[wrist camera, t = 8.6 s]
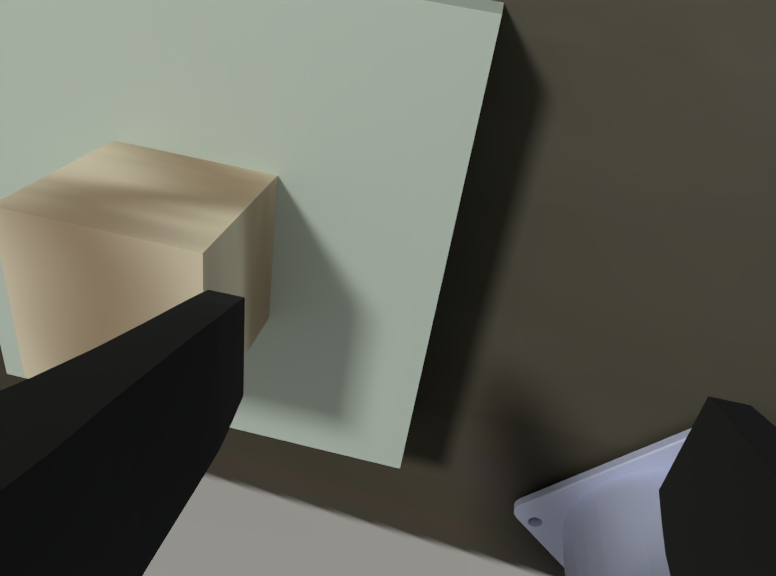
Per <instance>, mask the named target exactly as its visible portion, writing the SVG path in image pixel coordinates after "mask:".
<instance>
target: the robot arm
mask: <svg viewBox="0 0 776 576" xmlns="http://www.w3.org/2000/svg"><path fill="white" fill-rule="evenodd" d="M244 323H245V297H240V296H236V295H231V294H226V293H222V292H217V291H212V290H207V291H205V292H202V293H200V294H198V295H196V296H194V297H192V298H190V299H188V300H186V301H184V302H182V303H180V304H178V305H177V306H175V307H173V308H171V309H169V310H167V311H165V312H163V313H161V314H160V315H158V316H156V317H154V318H152V319H150V320H148V321H146V322H145V323H143V324H141V325H139V326H137V327H135V328H133V329H131V330H129V331H127V332H125V333H123V334H121V335H119V336H117V337H115V338H114V339H112V340H110V341H108V342H106V343H104V344H102V345H100V346H98V347H96V348H94V349H92V350H90V351H87V352H85V353H83V354H81V355H79V356H77V357H74V358H72V359H70V360H68V361H66V362H64V363H62V364H59V365H57V366H55V367H53V368H51V369H49V370H46V371H44V372H42V373H40V374H38V375H36V376H34V377H31V378H29V379H27V380H25V381H22V382H20V383H18V384H15V385H13V386H11V387H8V388H6V389H3V390H1V391H0V576H142V575H143V574H144V572H145V570H146V568H147V567H148V565H149V563H150V562H151V560H152V559H153V557H154V555H155V554H156V552H157V550H158V549H159V547H160V546H161V544H162V542H163V541H164V539H165V538H166V536H167V534H168V533H169V531H170V530H171V528H172V526H173V525H174V523H175V521H176V520H177V518H178V517H179V515H180V513H181V512H182V510H183V508H184V507H185V505H186V503H187V502H188V500H189V498H190V497H191V496H192V494H193V492H194V491H195V489H196V487H197V486H198V484H199V482H200V481H201V479H202V477H203V476H204V474H205V473H206V471H207V469H208V468H209V466H210V464H211V463H212V461H213V459H214V458H215V456H216V454H217V453H218V451H219V449H220V447H221V445H222V443H223V441H224V438H225V436H226V434H227V432H228V430H229V428H230V426H231V423H232V421H233V419H234V416H235V414H236V412H237V409H238V407H239V405H240V403H241V400H242V398H243V390H244ZM514 515H515V517H516V518H517V519H518V520H519V521H520V522H521V523H522V524H523V525H524V526H525V527H526V528H527V529H528V530H529V532H530V533H531V534H532V535H533V536H534V537H535V538H536V539H537V540H538V541H539V542H540V543H541V544H542V545H543V546H544V547H545V548H546V549H547V550H548V551H549V553H550V554H551V555H552V556H553V557H554V558H555V559H556V560H557V561H558V562H559V563H560V564H561V565H562V566H563V567H564V569H565V576H776V427H775V426H774V425H772V424H771V423H770V422H769V421H768V420H767V419H766V418H765V417H764V416H762V415H761V414H760V413H759V412H758V411H757V410H755V409H754V408H753V407H752V406H750V405H746V404H741V403H736V402H732V401H727V400H722V399H718V398H713V397H708V398H707V400H706V402H705V404H704V406H703V407H702V409H701V411H700V413H699V415H698V417H697V419H696V421H695V423H694V425H693V426H692V428H690V429H688V430H686V431H683V432H681V433H678V434H676V435H673V436H671V437H668V438H666V439H664V440H661V441H659V442H656V443H654V444H651V445H649V446H647V447H644V448H642V449H639V450H637V451H634V452H632V453H629V454H627V455H625V456H622V457H620V458H617V459H615V460H612V461H610V462H607V463H605V464H603V465H600V466H598V467H595V468H593V469H590V470H588V471H586V472H583V473H581V474H578V475H576V476H573V477H571V478H568V479H566V480H564V481H561V482H559V483H556V484H554V485H551V486H549V487H546V488H544V489H542V490H539V491H537V492H534V493H532V494H529V495H527V496H525V497H522V498H520V499H518V500H516V501H515V503H514ZM533 517H536V519H535V518H533Z"/></svg>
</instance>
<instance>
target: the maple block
mask: <svg viewBox="0 0 776 576" xmlns="http://www.w3.org/2000/svg"><path fill="white" fill-rule="evenodd" d="M277 179H278V175H274V174H269V173H264V172H260V171H255V170H250V169H245V168H241V167H236V166H231V165H227V164H222V163H217V162H213V161H208V160H203V159H199V158H194V157H189V156H185V155H180V154H175V153H170V152H166V151H161V150H156V149H152V148H147V147H142V146H138V145H133V144H128V143H124V142H119V141H114V140H113V141H111V142H109V143H108V144H106V145H104V146H102V147H100V148H98V149H96V150H94V151H92V152H90V153H89V154H87V155H85V156H83V157H81V158H79V159H77V160H75V161H73V162H71V163H69V164H68V165H66V166H64V167H62V168H60V169H58V170H56V171H54V172H52V173H50V174H49V175H47V176H45V177H43V178H41V179H39V180H37V181H35V182H33V183H31V184H30V185H28V186H26V187H24V188H22V189H20V190H18V191H16V192H14V193H12V194H10V195H9V196H7V197H5V198H3V199H1V200H0V258H1V263H2V268H3V273H4V278H5V283H6V287H7V292H8V297H9V302H10V307H11V312H12V317H13V322H14V327H15V332H16V337H17V342H18V347H19V352H20V357H21V362H22V367H23V371H24V376H25V377H27V378H31V377H34V376H36V375H38V374H40V373H42V372H44V371H46V370H49V369H51V368H53V367H55V366H57V365H59V364H62V363H64V362H66V361H68V360H70V359H72V358H74V357H77V356H79V355H81V354H83V353H85V352H87V351H90V350H92V349H94V348H96V347H98V346H100V345H102V344H104V343H106V342H108V341H110V340H112V339H114V338H115V337H117V336H119V335H121V334H123V333H125V332H127V331H129V330H131V329H133V328H135V327H137V326H139V325H141V324H143V323H145V322H146V321H148V320H150V319H152V318H154V317H156V316H158V315H160V314H161V313H163V312H165V311H167V310H169V309H171V308H173V307H175V306H177V305H178V304H180V303H182V302H184V301H186V300H188V299H190V298H192V297H194V296H196V295H198V294H200V293H202V292H205V291H207V290H212V291H217V292H222V293H226V294H231V295H236V296H240V297H245V323H244V357H245V355H246V353H247V352H248V350H249V349H250V347H251V346H252V344H253V342H254V341H255V339H256V338H257V336H258V334H259V333H260V331H261V330H262V328H263V327H264V325H265V323H266V322H267V320H268V319H269V310H270V293H271V277H272V261H273V244H274V228H275V212H276V195H277Z"/></svg>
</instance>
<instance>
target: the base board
mask: <svg viewBox="0 0 776 576" xmlns="http://www.w3.org/2000/svg"><path fill="white" fill-rule="evenodd" d="M503 5H504V3H503V2H497V1H492V0H0V200H1V199H3V198H5V197H7V196H9V195H10V194H12V193H14V192H16V191H18V190H20V189H22V188H24V187H26V186H28V185H30V184H31V183H33V182H35V181H37V180H39V179H41V178H43V177H45V176H47V175H49V174H50V173H52V172H54V171H56V170H58V169H60V168H62V167H64V166H66V165H68V164H69V163H71V162H73V161H75V160H77V159H79V158H81V157H83V156H85V155H87V154H89V153H90V152H92V151H94V150H96V149H98V148H100V147H102V146H104V145H106V144H108V143H109V142H111V141H113V140H114V141H119V142H124V143H128V144H133V145H138V146H142V147H147V148H152V149H156V150H161V151H166V152H170V153H175V154H180V155H185V156H189V157H194V158H199V159H203V160H208V161H213V162H217V163H222V164H227V165H231V166H236V167H241V168H245V169H250V170H255V171H260V172H264V173H269V174H274V175H278V179H277V195H276V212H275V228H274V244H273V261H272V277H271V293H270V310H269V319H268V320H267V322H266V323H265V325H264V327H263V328H262V330H261V331H260V333H259V334H258V336H257V338H256V339H255V341H254V342H253V344H252V346H251V347H250V349H249V350H248V352H247V353H246V355H245V357H244V390H243V398H242V400H241V403H240V405H239V407H238V409H237V412H236V414H235V416H234V419H233V421H232V423H231V426H230V428H234V429H238V430H242V431H247V432H251V433H255V434H259V435H263V436H267V437H271V438H275V439H280V440H284V441H288V442H292V443H296V444H300V445H304V446H309V447H313V448H317V449H321V450H325V451H329V452H333V453H337V454H342V455H346V456H350V457H354V458H358V459H362V460H366V461H371V462H375V463H379V464H383V465H387V466H391V467H395V468H399V469H400V466H401V461H402V457H403V453H404V448H405V444H406V439H407V435H408V430H409V426H410V421H411V417H412V413H413V408H414V404H415V399H416V395H417V390H418V386H419V381H420V377H421V373H422V368H423V364H424V359H425V355H426V350H427V346H428V341H429V337H430V333H431V328H432V324H433V319H434V315H435V310H436V306H437V301H438V297H439V293H440V288H441V284H442V279H443V275H444V270H445V266H446V262H447V257H448V253H449V248H450V244H451V239H452V235H453V230H454V226H455V222H456V217H457V213H458V208H459V204H460V199H461V195H462V190H463V186H464V182H465V177H466V173H467V168H468V164H469V159H470V155H471V150H472V146H473V142H474V137H475V133H476V128H477V124H478V119H479V115H480V110H481V106H482V102H483V97H484V93H485V88H486V84H487V79H488V75H489V70H490V66H491V62H492V57H493V53H494V48H495V44H496V39H497V35H498V30H499V26H500V22H501V17H502V12H503ZM0 345H1V350H2V354H3V358H4V363H5V367H6V372H7V374H11V375H15V376H19V377H23V378H27V377H25V376H24V371H23V367H22V362H21V357H20V352H19V347H18V342H17V337H16V332H15V327H14V322H13V317H12V312H11V307H10V302H9V297H8V292H7V287H6V283H5V278H4V273H3V268H2V263H1V258H0ZM28 379H29V378H28Z"/></svg>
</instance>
